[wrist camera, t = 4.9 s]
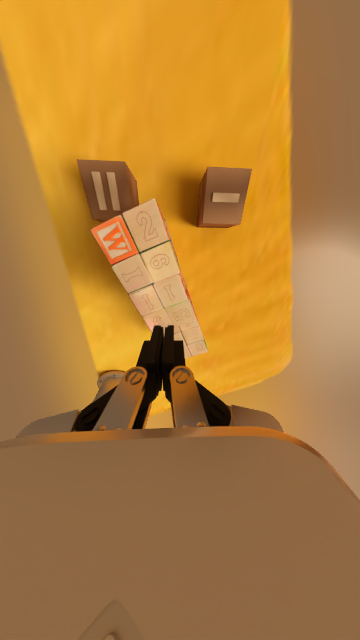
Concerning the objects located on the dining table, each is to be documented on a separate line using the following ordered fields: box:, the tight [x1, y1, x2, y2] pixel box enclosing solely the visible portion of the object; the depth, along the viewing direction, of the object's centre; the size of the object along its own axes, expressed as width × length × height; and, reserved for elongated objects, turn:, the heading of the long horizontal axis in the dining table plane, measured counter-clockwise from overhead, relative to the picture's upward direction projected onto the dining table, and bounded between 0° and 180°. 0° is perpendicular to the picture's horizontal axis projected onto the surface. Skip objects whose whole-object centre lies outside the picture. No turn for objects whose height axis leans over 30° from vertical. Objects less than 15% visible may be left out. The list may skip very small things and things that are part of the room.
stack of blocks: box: [91, 198, 208, 358], centre depth 21 cm, size 21×6×12 cm, turn 20°
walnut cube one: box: [197, 167, 252, 228], centre depth 18 cm, size 5×5×5 cm
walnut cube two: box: [77, 159, 139, 222], centre depth 17 cm, size 5×5×5 cm
